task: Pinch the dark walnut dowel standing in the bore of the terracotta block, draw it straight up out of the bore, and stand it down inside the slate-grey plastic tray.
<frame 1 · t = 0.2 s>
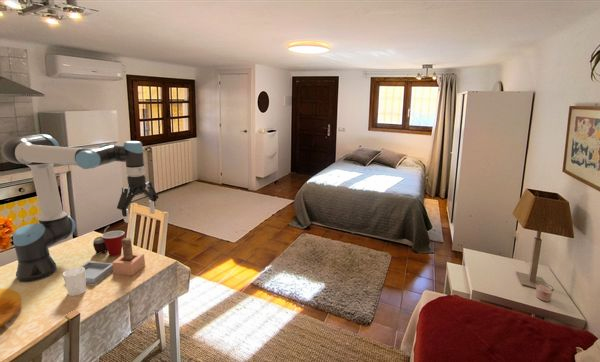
hand: (140, 217, 154), 27 cm above the table, fingers open, 13 cm apart
plastic cup: (115, 253, 174), on the table, touching mate gourd
terracotta block: (129, 268, 160), on the table
walnut dowel: (128, 254, 158), in the terracotta block
mate gourd: (103, 251, 176), on the table, touching plastic cup
white cup: (77, 291, 141), on the table
grey tray: (92, 274, 154), on the table
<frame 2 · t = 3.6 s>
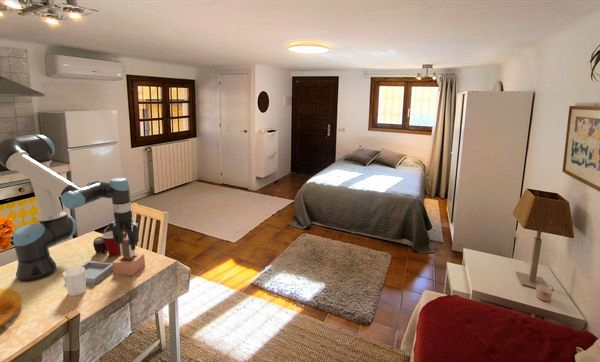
hand: (128, 255, 158), 8 cm above the table, fingers closed on walnut dowel, 4 cm apart
walnut dowel: (128, 254, 158), in the terracotta block, touching gripper
everything else where it was.
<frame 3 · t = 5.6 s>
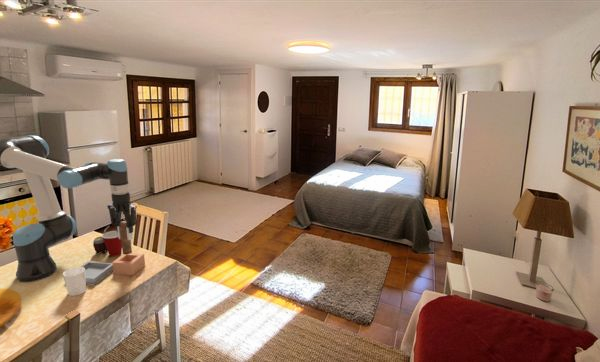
hand: (125, 238, 156), 17 cm above the table, fingers closed on walnut dowel, 4 cm apart
plastic cup: (115, 253, 174), on the table
walnut dowel: (125, 237, 156), point 17 cm above the table, touching gripper
mate gourd: (103, 251, 176), on the table
everything else where it was.
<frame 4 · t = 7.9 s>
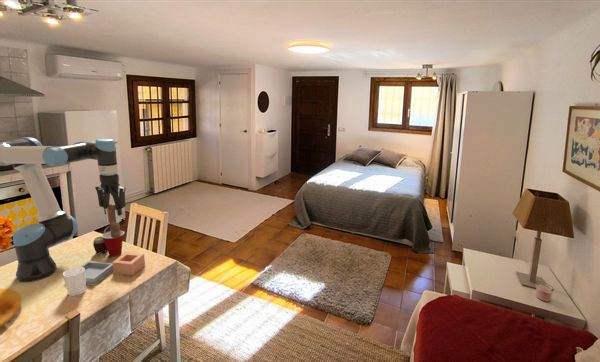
hand: (114, 221, 152), 26 cm above the table, fingers closed on walnut dowel, 4 cm apart
plastic cup: (115, 253, 174), on the table, touching mate gourd
walnut dowel: (114, 220, 152), point 26 cm above the table, touching gripper
mate gourd: (103, 251, 176), on the table, touching plastic cup
everything else where it was.
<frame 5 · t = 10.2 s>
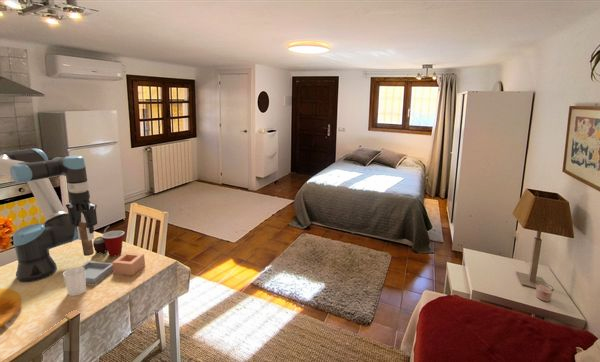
hand: (86, 238, 149), 19 cm above the table, fingers closed on walnut dowel, 4 cm apart
walnut dowel: (86, 238, 149), point 19 cm above the table, touching gripper
everything else where it was.
when the fingers open (10 cm above the table, at t = 12.4 s): walnut dowel drops 2 cm, resting on grey tray.
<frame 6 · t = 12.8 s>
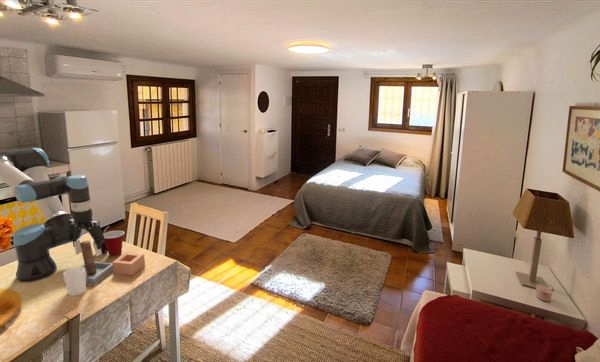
hand: (88, 254, 151), 11 cm above the table, fingers open, 9 cm apart
walnut dowel: (88, 257, 152), in the grey tray, point 9 cm above the table
everything else where it was.
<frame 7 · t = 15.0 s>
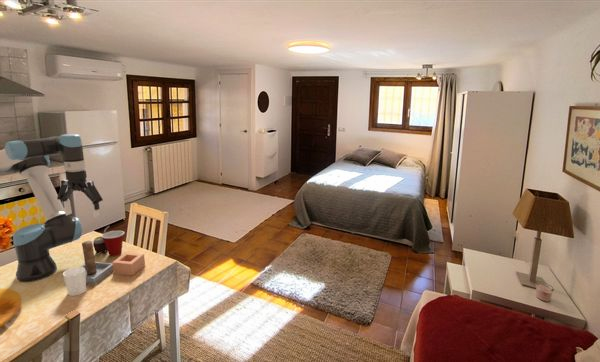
hand: (82, 215, 146), 31 cm above the table, fingers open, 13 cm apart
nothing on the table moved.
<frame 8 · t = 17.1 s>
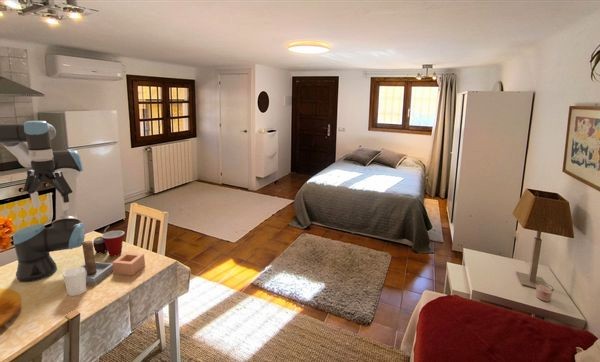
hand: (51, 208, 136), 37 cm above the table, fingers open, 13 cm apart
nothing on the table moved.
at the end: walnut dowel inside the target area on the grey tray (0.0 cm from its centre), point 9.0 cm above the grey tray's base; the gripper is holding nothing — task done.
